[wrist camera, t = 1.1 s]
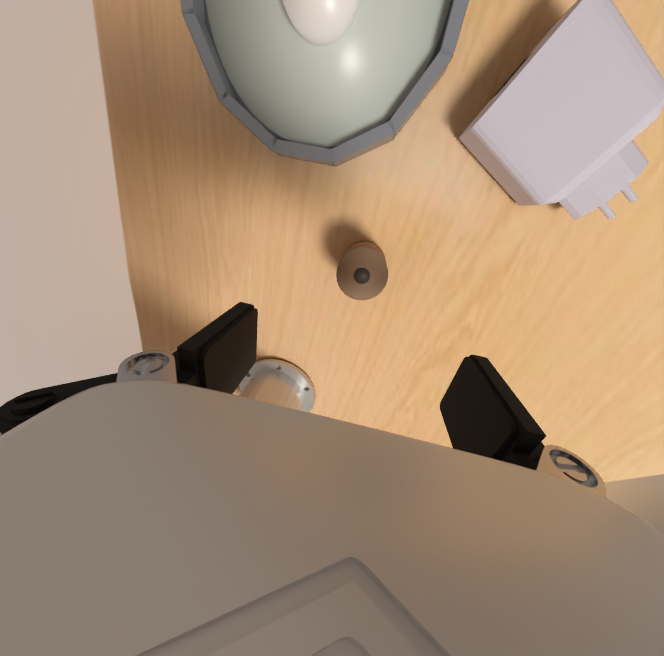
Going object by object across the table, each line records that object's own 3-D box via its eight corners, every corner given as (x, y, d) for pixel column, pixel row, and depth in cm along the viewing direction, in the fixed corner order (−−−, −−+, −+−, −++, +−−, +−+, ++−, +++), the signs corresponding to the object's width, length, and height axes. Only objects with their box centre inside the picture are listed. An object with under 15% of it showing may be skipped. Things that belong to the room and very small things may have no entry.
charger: (551, 246, 25) (455, 140, 23) (657, 163, 21) (554, 22, 19) (587, 254, 21) (473, 125, 19) (726, 153, 17) (607, -31, 15)
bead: (378, 287, 30) (380, 304, 24) (339, 278, 30) (332, 294, 25) (390, 245, 28) (394, 255, 22) (347, 237, 28) (341, 244, 22)
